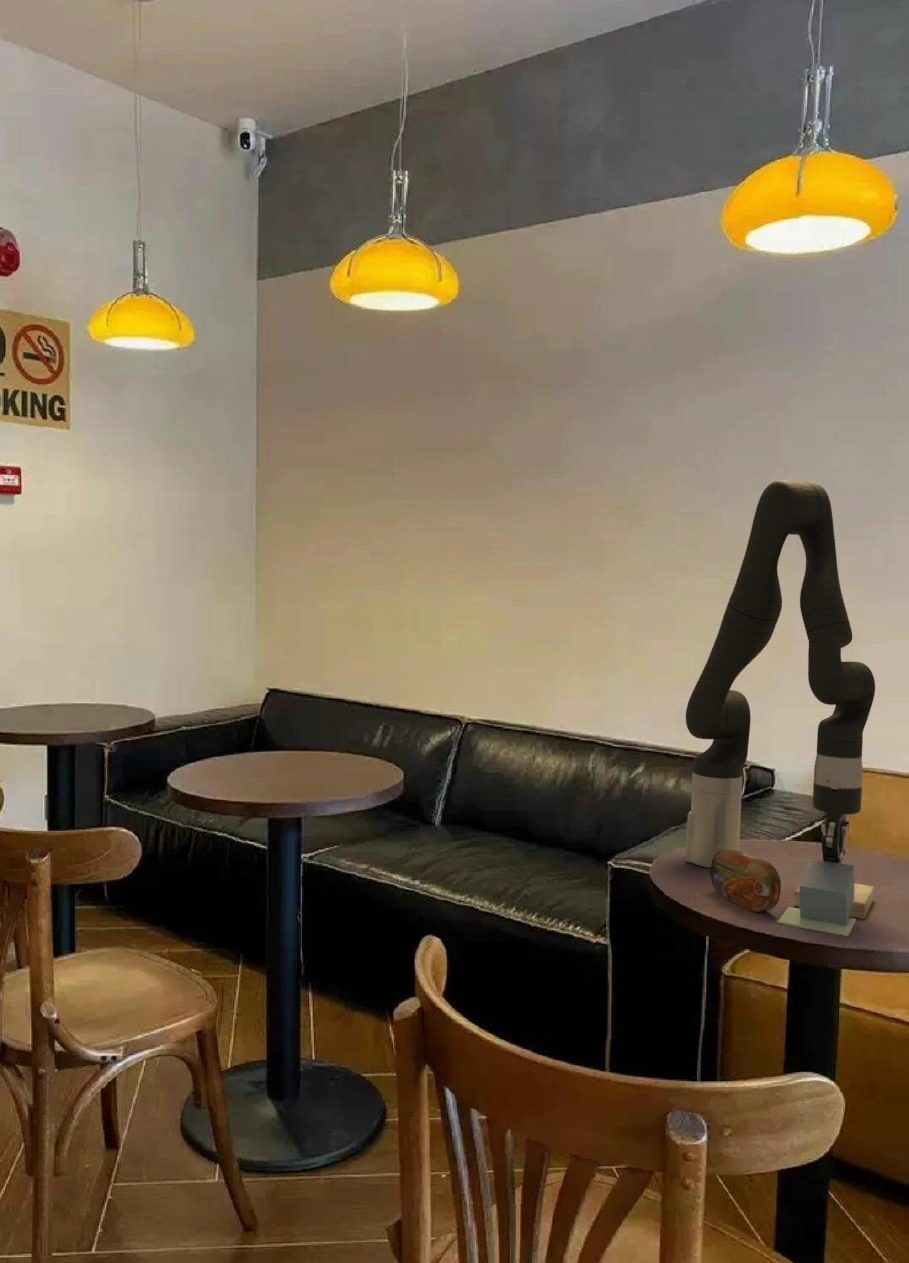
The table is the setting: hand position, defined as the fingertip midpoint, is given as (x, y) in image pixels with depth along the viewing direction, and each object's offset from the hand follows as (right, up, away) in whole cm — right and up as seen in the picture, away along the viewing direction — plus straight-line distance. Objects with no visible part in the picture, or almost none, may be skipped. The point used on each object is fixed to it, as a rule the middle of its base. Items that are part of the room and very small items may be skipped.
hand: (832, 884), depth 167 cm
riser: (+1, -4, +3) cm, 5 cm away
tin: (-14, -4, +2) cm, 15 cm away
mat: (-5, -4, -7) cm, 9 cm away
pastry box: (-2, -3, -4) cm, 5 cm away
